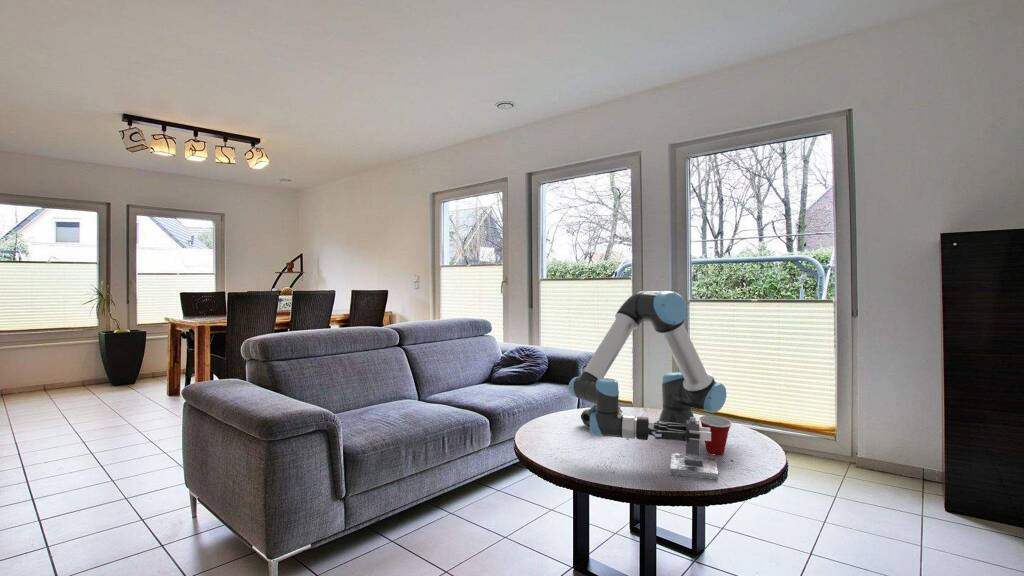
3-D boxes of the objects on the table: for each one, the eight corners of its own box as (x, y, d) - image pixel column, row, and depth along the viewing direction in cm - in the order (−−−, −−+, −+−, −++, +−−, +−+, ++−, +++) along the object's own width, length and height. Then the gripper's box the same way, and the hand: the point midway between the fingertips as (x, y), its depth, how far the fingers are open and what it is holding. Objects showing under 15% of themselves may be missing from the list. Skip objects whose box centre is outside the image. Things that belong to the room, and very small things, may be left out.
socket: (671, 459, 174) (671, 452, 174) (715, 464, 170) (715, 456, 170) (670, 474, 161) (670, 466, 161) (718, 479, 156) (718, 471, 156)
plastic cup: (717, 460, 173) (717, 425, 173) (692, 450, 183) (692, 417, 182) (739, 455, 178) (739, 421, 178) (714, 446, 188) (714, 414, 187)
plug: (686, 450, 168) (686, 415, 167) (698, 451, 166) (699, 416, 166) (686, 454, 164) (686, 418, 164) (699, 455, 162) (699, 419, 162)
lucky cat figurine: (606, 420, 221) (620, 395, 216) (615, 439, 210) (630, 413, 205) (576, 413, 217) (589, 387, 212) (583, 432, 206) (597, 405, 201)
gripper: (638, 431, 179) (709, 438, 171) (634, 446, 163) (712, 454, 155) (638, 410, 179) (709, 416, 171) (634, 423, 162) (712, 430, 155)
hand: (710, 434), depth 163 cm, fingers closed on plug, 4 cm apart
